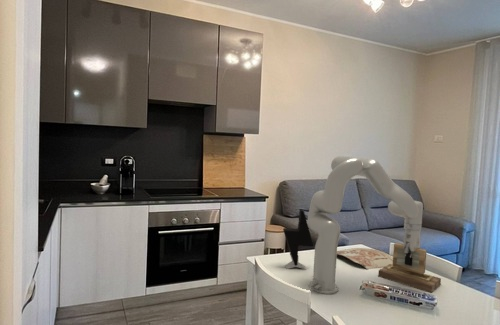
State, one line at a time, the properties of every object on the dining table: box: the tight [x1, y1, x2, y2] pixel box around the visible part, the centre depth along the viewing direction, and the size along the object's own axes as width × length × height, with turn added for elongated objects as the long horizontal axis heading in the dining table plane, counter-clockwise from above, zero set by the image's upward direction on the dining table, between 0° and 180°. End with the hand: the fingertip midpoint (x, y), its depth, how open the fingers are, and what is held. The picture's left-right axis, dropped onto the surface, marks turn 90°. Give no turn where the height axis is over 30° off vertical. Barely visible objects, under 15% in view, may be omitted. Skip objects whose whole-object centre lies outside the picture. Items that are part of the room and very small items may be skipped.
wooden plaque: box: [392, 242, 428, 274], centre depth 161 cm, size 4×14×11 cm, turn 46°
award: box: [283, 208, 314, 270], centre depth 170 cm, size 15×5×30 cm, turn 92°
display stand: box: [377, 264, 442, 294], centre depth 161 cm, size 14×24×4 cm, turn 45°
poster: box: [337, 247, 393, 270], centre depth 189 cm, size 28×6×30 cm
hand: (409, 263), depth 161 cm, fingers closed on wooden plaque, 3 cm apart
